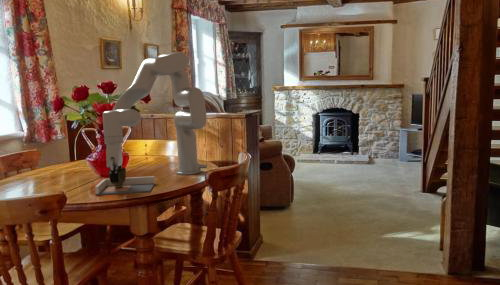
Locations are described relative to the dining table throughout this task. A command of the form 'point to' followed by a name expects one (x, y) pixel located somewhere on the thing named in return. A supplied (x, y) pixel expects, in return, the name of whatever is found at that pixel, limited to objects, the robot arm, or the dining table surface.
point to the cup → (121, 177)
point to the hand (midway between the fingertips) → (117, 179)
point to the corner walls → (127, 182)
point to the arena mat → (127, 189)
